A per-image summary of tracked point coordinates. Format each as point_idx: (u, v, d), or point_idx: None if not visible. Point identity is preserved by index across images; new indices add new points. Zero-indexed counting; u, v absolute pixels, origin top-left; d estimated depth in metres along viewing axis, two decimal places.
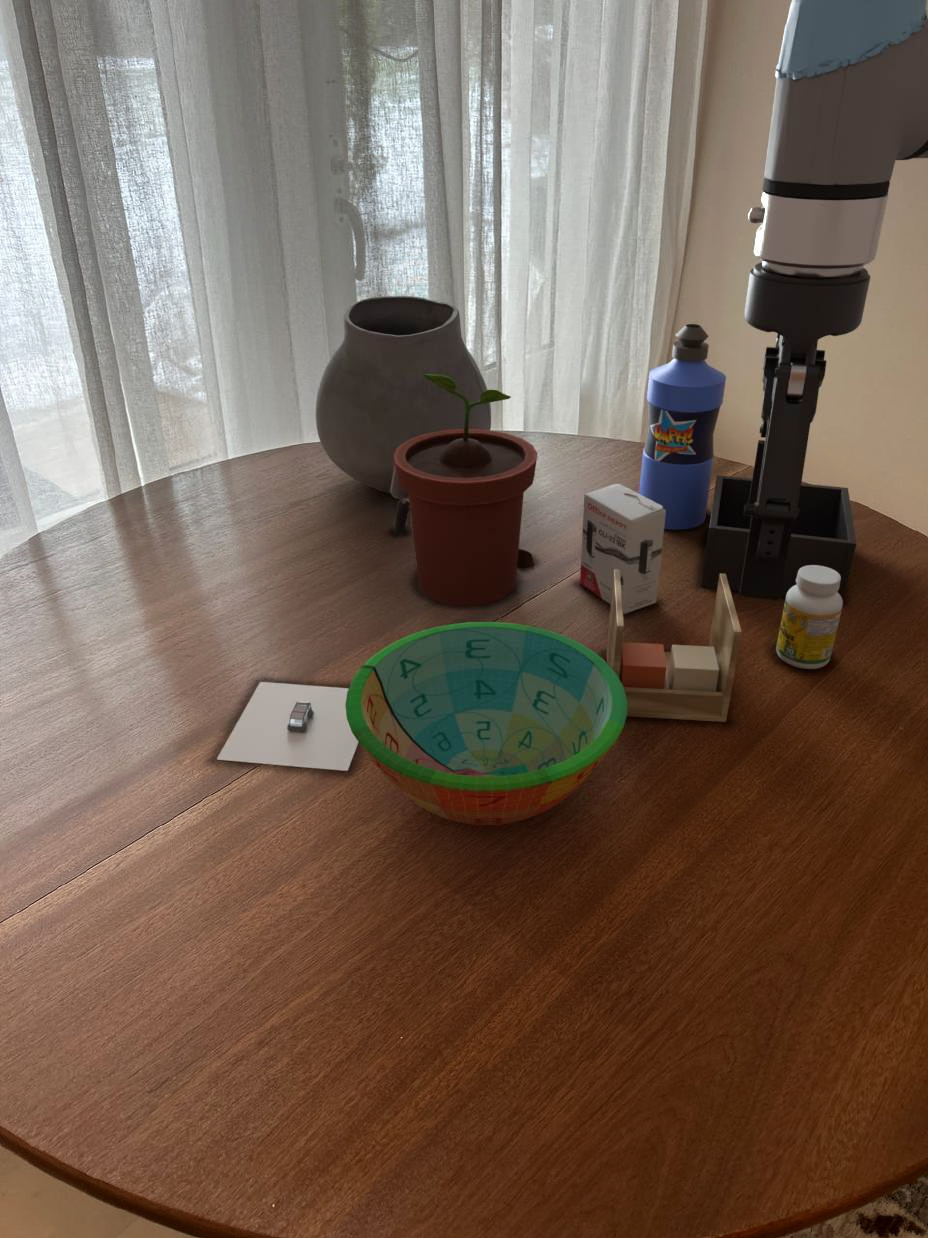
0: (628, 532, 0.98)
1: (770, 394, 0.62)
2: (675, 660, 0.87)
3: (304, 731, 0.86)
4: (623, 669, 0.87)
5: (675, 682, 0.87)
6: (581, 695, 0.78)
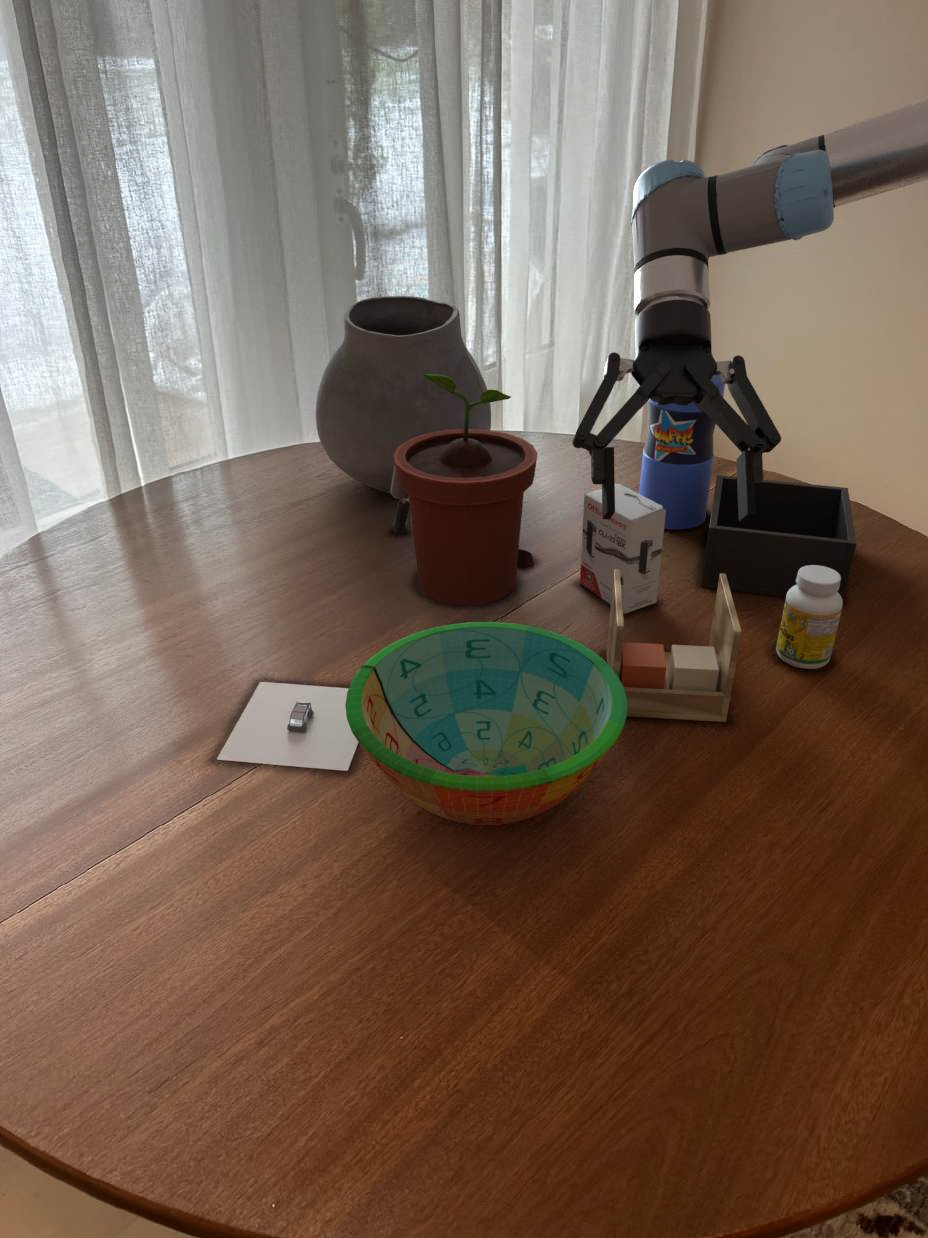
0: (628, 532, 0.98)
1: None
2: (675, 660, 0.87)
3: (304, 731, 0.86)
4: (623, 669, 0.87)
5: (675, 682, 0.87)
6: (581, 695, 0.78)
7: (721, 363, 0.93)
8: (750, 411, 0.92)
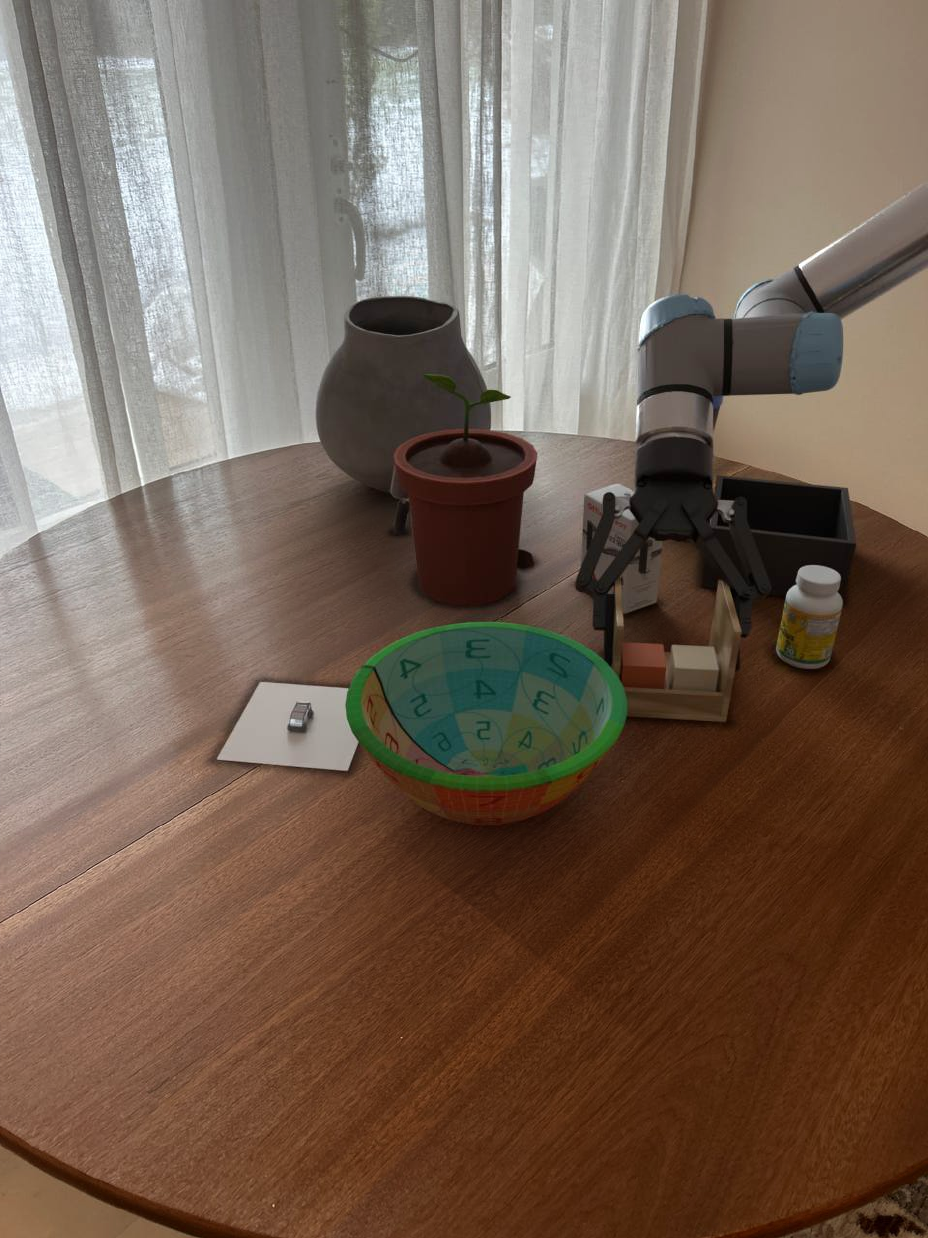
0: (628, 532, 0.98)
1: None
2: (675, 660, 0.87)
3: (304, 731, 0.86)
4: (623, 669, 0.87)
5: (676, 682, 0.87)
6: (581, 695, 0.78)
7: (723, 502, 0.90)
8: (744, 555, 0.88)
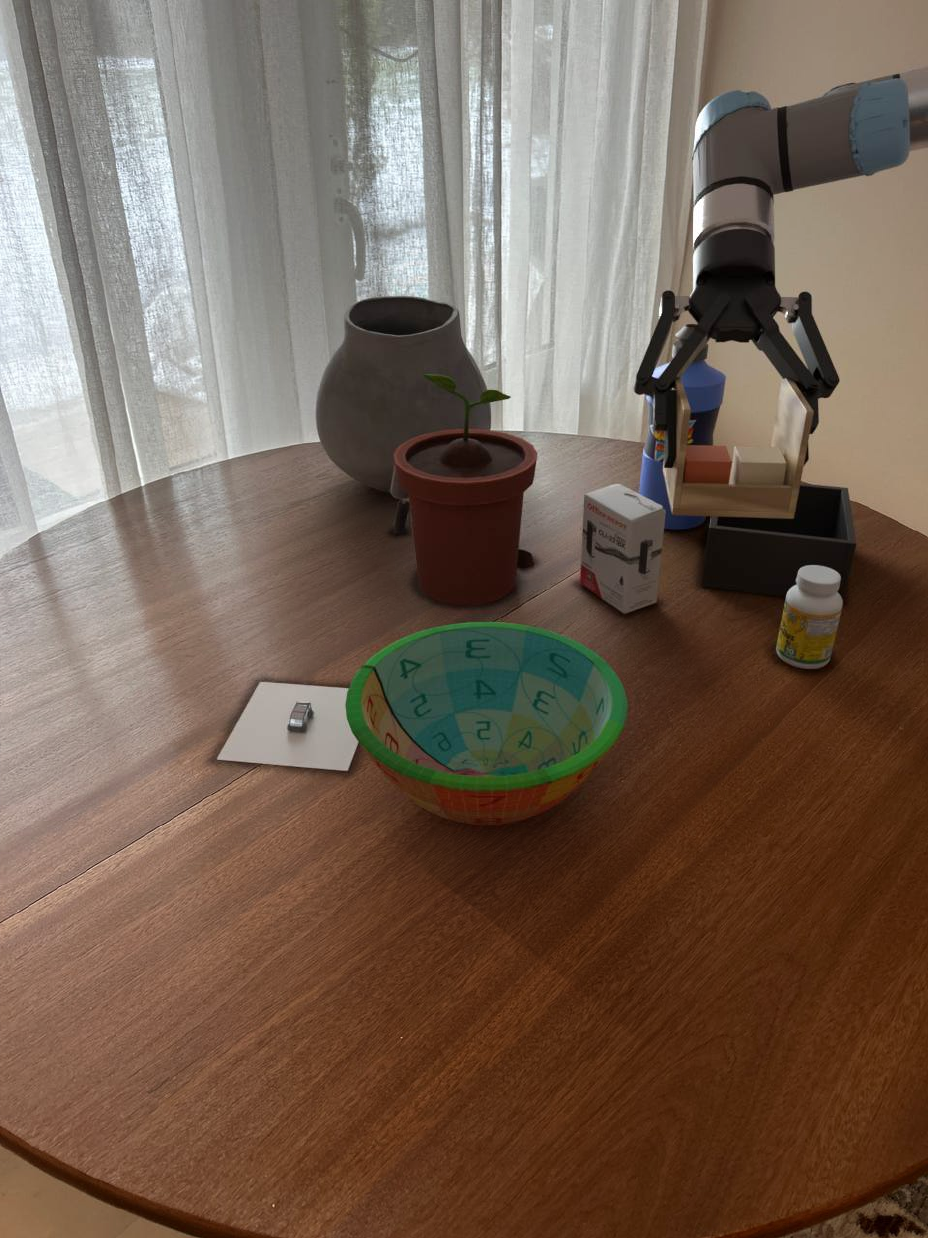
0: (628, 532, 0.98)
1: None
2: (740, 456, 0.84)
3: (304, 731, 0.86)
4: (686, 465, 0.84)
5: (741, 479, 0.84)
6: (581, 695, 0.78)
7: (786, 299, 0.87)
8: (810, 350, 0.85)
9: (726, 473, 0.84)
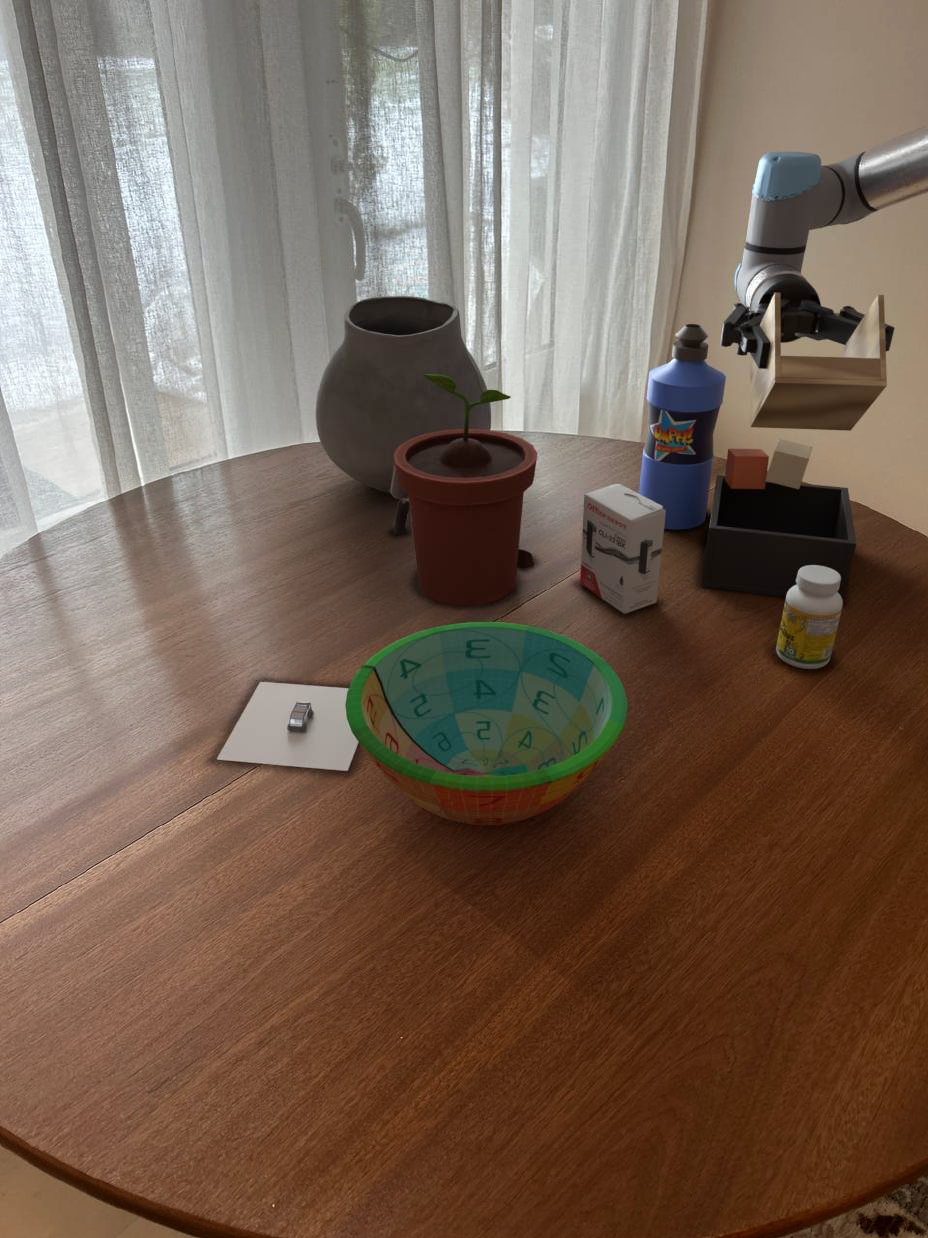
0: (628, 532, 0.98)
1: None
2: None
3: (304, 731, 0.86)
4: (729, 449, 1.14)
5: (779, 443, 1.11)
6: (581, 695, 0.78)
7: (833, 313, 1.08)
8: None
9: (760, 451, 1.13)
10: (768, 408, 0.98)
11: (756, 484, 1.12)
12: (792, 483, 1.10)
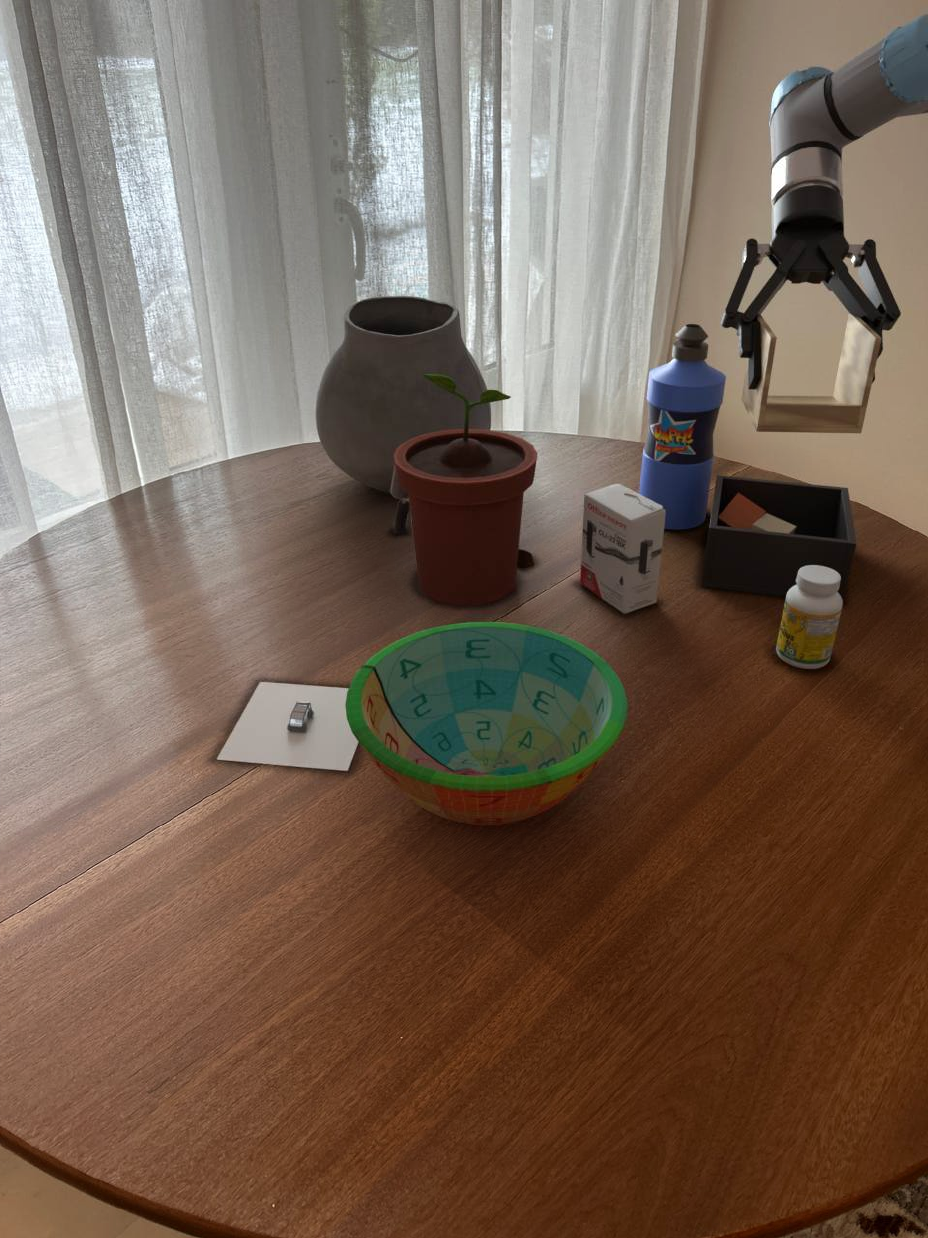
0: (628, 532, 0.98)
1: None
2: (757, 520, 1.11)
3: (304, 731, 0.86)
4: (736, 496, 1.13)
5: None
6: (581, 695, 0.78)
7: (853, 246, 1.01)
8: (874, 289, 1.00)
9: (757, 516, 1.12)
10: None
11: None
12: None
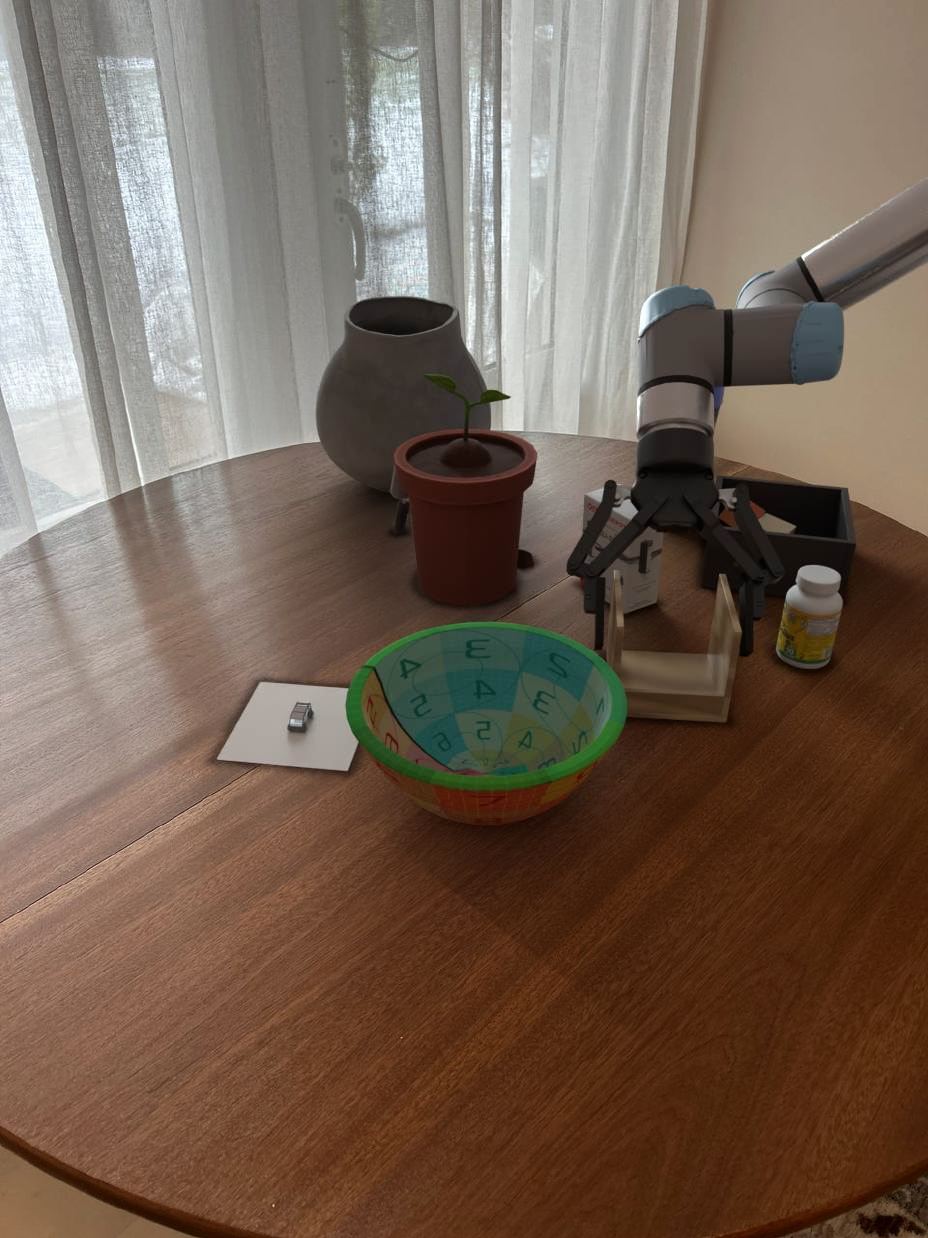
0: None
1: None
2: None
3: (304, 731, 0.86)
4: None
5: None
6: (581, 695, 0.78)
7: (724, 491, 0.90)
8: (753, 541, 0.88)
9: (757, 516, 1.12)
10: None
11: None
12: None
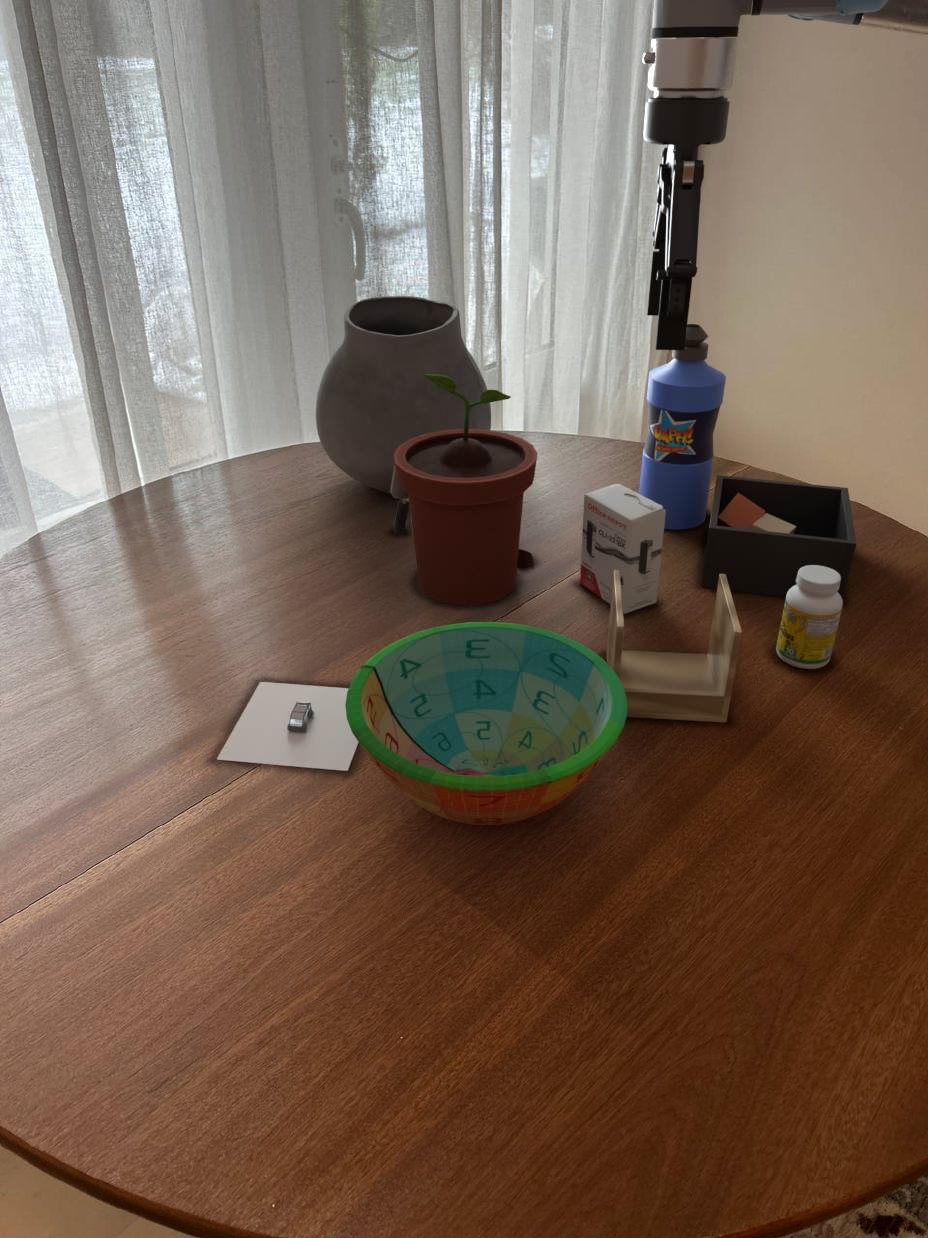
0: (628, 532, 0.98)
1: (667, 192, 0.86)
2: (757, 520, 1.11)
3: (304, 731, 0.86)
4: (736, 495, 1.13)
5: None
6: (581, 695, 0.78)
7: None
8: None
9: (757, 516, 1.12)
10: None
11: None
12: None
